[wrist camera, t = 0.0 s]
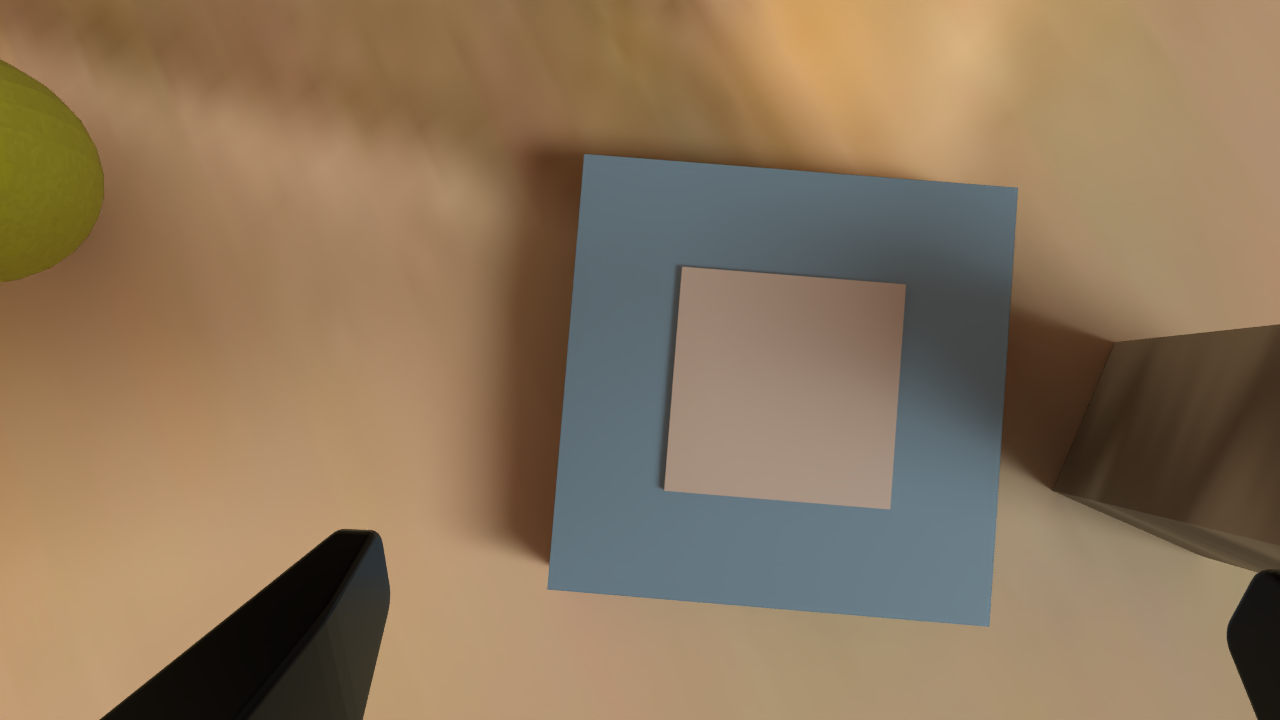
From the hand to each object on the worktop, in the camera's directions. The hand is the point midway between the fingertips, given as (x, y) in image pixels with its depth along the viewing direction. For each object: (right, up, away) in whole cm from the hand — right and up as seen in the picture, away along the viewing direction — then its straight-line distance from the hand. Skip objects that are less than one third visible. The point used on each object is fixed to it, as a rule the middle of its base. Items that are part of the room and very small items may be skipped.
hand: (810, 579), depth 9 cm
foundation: (+2, +1, +15) cm, 15 cm away
